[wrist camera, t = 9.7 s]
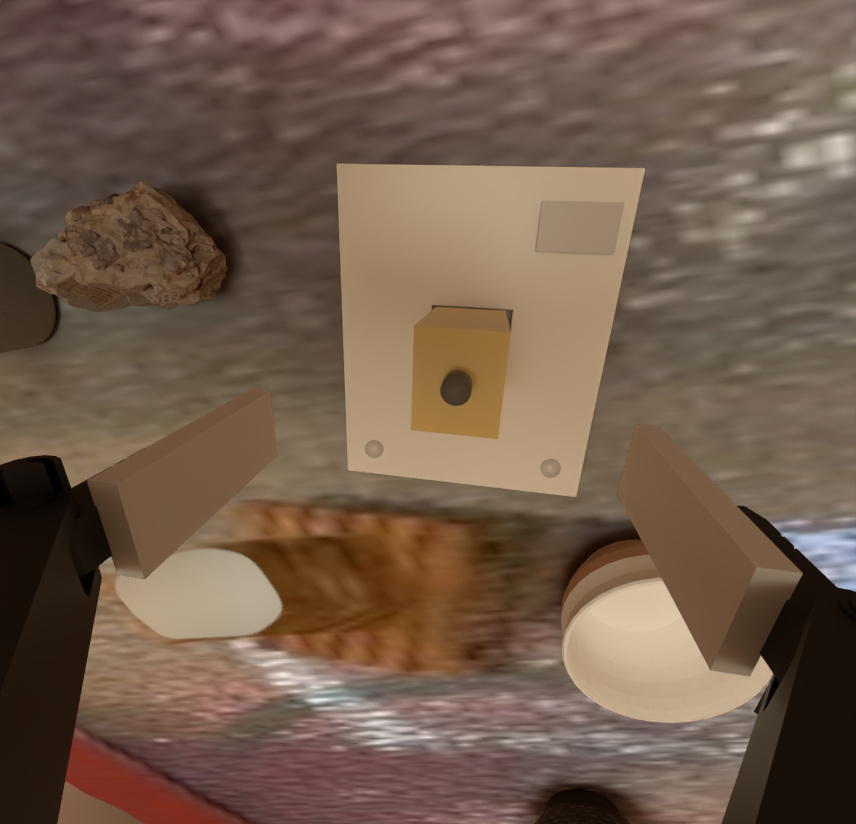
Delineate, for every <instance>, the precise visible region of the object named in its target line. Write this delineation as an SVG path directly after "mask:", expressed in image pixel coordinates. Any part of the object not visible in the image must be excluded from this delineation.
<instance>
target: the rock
mask: <svg viewBox="0 0 856 824" xmlns="http://www.w3.org/2000/svg"><path fill="white" fill-rule="evenodd" d="M65 218H66V221H65V224H66V226H67V227H65V228H64V229H63V230H62V231H61V232H60V233H59V234H58V237H57V238H51V240H50V241H49V242H48V243H47V245H46V246H45V247H44V248H43V249H41V250H39V251H38V252H37V253H36V254H35V255H34V256H33V257H32V258H31V260H30V261H31V264H32V267H33V271H34V273H35V275H36V286H37V287H38V288H40V289H41V290H43V291H46V292H48V293H50V294H55V295H56V296H58V297H59V298H62V299H63V300H64V301H65V302H66V303H68V304H69V305H71V306H73V307H77V308H85V309H86V310H90V311H95V312H102V311H109V310H117V309H123V308H126V307H129V306H148V305H154V304H156V305H158V304H160V305H161V307H162V308H168V309H173V308H175V307H176V306H178V305H179V304H184V305H189V304H195V303H199V302H200V301H201V300H207V299H210V298H212V297H214V296H215V295H216V294H217V291H219V288H220V287H221V284H222V280H223V279H224V278H226V272H225V271H227V269H228V267H227V265H226V257H225V255H224V254H223V253H222V252H221V251H220V250H219V249H218V248H217V247H216V246H215V243H214V241H213V239H212V237H211V236H209V235H207V234H206V232H205V231H204V230H203V229H202V228H201V226H200V225H199V224H198V223H197V221H196V220H195V219H194V218H193V216H192V215H191V214H189V213H188V212H187V211H186V210H185V209H184V208H183V207H181V206H180V205H179V204H178V203H177V202H176V201H175V200H174V198H173V197H172V196H171V194H169V193H166V192H164V191H162V190H160V189H157V188H155V187H152V186H150V185H149V184H148V183H146V182H139V183H138V184H137V186H136V187H134V188H133V189H131V190H130V191H129V192H127V193H124V194H121V195H118V194H116V193H114V194H112V195H111V196H109V197H107V198H105V199H102V200H95V201H93V202H91V203H90V206H80V207H77V208H74V209H72V210H70V211H69V212H68V213H67V215H66V217H65Z"/></svg>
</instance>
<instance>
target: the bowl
mask: <svg viewBox="0 0 856 824" xmlns="http://www.w3.org/2000/svg"><path fill="white" fill-rule="evenodd" d="M561 626H562V632H563V636H564V639H563V643H562V656H563V661H564V664H565V667H566V670H567V672H568V674H569V675H570V677H571V678H572V680H573V682H574V683H575V685H576V686H577V687H578V688H579V689H580V690H581V691H582V692H583V693H584V694H585V695H586V696H587V697H589V698H590V699H592V700H593V701H595V702H596V703H598V704H599V705H601V706H603V707H605V708H607V709H609V710H611V711H613V712H615V713H618V714H621V715H624V716H628V717H631V718H634V719H640V720H646V721H651V722H667V723H674V722H690V721H696V720H701V719H706V718H711V717H714V716H717V715H720V714H723V713H726V712H728V711H730V710H732V709H734V708H736V707H738V706H740V705H742V704H744V703H746V702H747V701H748V700H750V699H751V698H752V697H754V696H755V695H756V694H758V693H759V692H760V690H761V689H762V688H763V687H764V686H765V685H766V684H767V683H768V681H769V680H770V678H771V676H772V674H773V672H772V671H771V669H770V668H769V667H768V665H767V664H766V662H765V661H764V659H763V658H762V656H760V658H759V660H758V662H757V664H756V666H755V668H754V670H753V672H752V674H751V676H750V677H748V676H742V675H736V674H730V673H724V672H717V671H711V670H710V669H709V667H708V665H707V663H706V661H705V660H704V658H703V656H702V654H701V652H700V650H699V648H698V646H697V644H696V642H695V641H694V639H693V637H692V635H691V633H690V631H689V629H688V627H687V625H686V623H685V622H684V620H683V618H682V616H681V614H680V612H679V610H678V608H677V606H676V605H675V603H674V601H673V599H672V597H671V595H670V593H669V591H668V589H667V587H666V586H665V584H664V582H663V580H662V578H661V576H660V574H659V572H658V570H657V568H656V567H655V565H654V563H653V561H652V559H651V557H650V555H649V553H648V551H647V550H646V548H645V546H644V544H643V542H642V540H625V541H619V542H615V543H612V544H609V545H607V546H605V547H603V548H601V549H599V550H597V551H596V552H594V553H593V554H592V555H591V556H589V557H588V559H587V560H586V561H585V562H584V563H583V564H582V565H581V566H580V567H579V569H578V570H577V571H576V572H575V573H574V575H573V576H572V578H571V580H570V582H569V584H568V586H567V588H566V590H565V592H564V595H563V600H562V605H561Z"/></svg>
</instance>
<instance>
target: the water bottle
mask: <svg viewBox="0 0 856 824" xmlns="http://www.w3.org/2000/svg"><path fill="white" fill-rule="evenodd" d="M55 320H56V309H55V303H54V299H53V296H52V294H50V293H48V292H46V291H43V290H41V289H40V288H38V287H37V286H36V275H35V273H34V271H33V267H32V264H31V262H30V261H29V260H28V259H27V258H26V257H25V256H23V255H22V254H21V253H19V252H18V251H16V250H14V249H12V248H10V247H8V246H6V245H4V244H2V243H0V353H1V352H6V351H11V350H16V349H22V348H27V347H32V346H35V345H37V344H39V343H42V342H43V341H44V340H45V339H46V338H48V336H49V335H50V334H51V332H52V330H53V328H54V325H55Z"/></svg>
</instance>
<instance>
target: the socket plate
mask: <svg viewBox="0 0 856 824" xmlns="http://www.w3.org/2000/svg"><path fill="white" fill-rule="evenodd" d="M644 172H645V168H592V167H525V166H458V165H391V164H337V186H338V213H339V240H340V266H341V293H342V320H343V347H344V373H345V400H346V427H347V453H348V470H351V471H359V472H368V473H376V474H385V475H393V476H402V477H410V478H419V479H427V480H436V481H444V482H453V483H461V484H470V485H478V486H487V487H496V488H504V489H513V490H521V491H530V492H538V493H547V494H555V495H564V496H572V497H576V494H577V490H578V485H579V480H580V475H581V471H582V466H583V461H584V456H585V452H586V447H587V442H588V437H589V433H590V428H591V423H592V418H593V414H594V409H595V404H596V400H597V395H598V390H599V385H600V381H601V376H602V371H603V366H604V362H605V357H606V352H607V347H608V343H609V338H610V333H611V328H612V324H613V319H614V314H615V309H616V305H617V300H618V295H619V290H620V286H621V281H622V276H623V271H624V267H625V262H626V257H627V252H628V248H629V243H630V238H631V233H632V229H633V224H634V219H635V214H636V210H637V205H638V200H639V195H640V191H641V186H642V181H643V176H644ZM436 307H450V308H466V309H483V310H499V311H506V315H507V319H508V323H509V327H510V331H511V334H510V343H509V351H508V360H507V368H506V376H505V385H504V393H503V402H502V410H501V419H500V427H499V435H498V439H491V438H482V437H472V436H462V435H452V434H443V433H433V432H423V431H413V430H411V409H412V374H413V339H414V325H415V324H417V323H418V322H419V321H420V320H421V319H422V318H424V317H425V316H426V315H427V314H428V313H430V312H431V311H432V310H433V309H434V308H436Z"/></svg>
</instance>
